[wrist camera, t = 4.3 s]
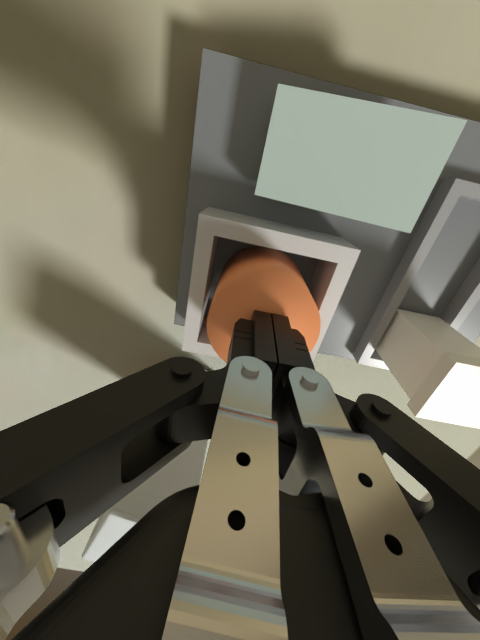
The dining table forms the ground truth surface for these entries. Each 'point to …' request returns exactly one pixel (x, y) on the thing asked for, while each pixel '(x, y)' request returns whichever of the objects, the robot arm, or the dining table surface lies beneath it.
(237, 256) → the orange piece
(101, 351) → the dining table surface
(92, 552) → the skincare box
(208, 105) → the panel
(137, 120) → the dining table surface
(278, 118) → the block
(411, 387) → the lever
